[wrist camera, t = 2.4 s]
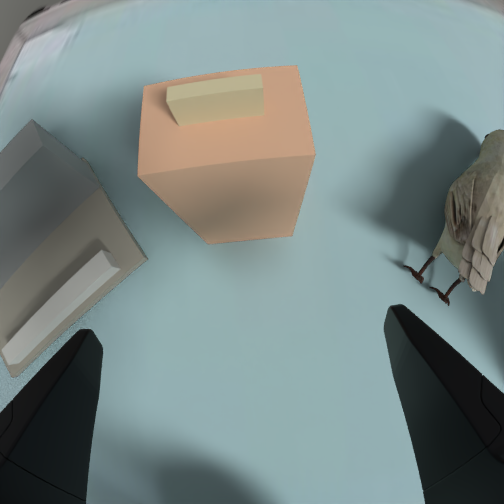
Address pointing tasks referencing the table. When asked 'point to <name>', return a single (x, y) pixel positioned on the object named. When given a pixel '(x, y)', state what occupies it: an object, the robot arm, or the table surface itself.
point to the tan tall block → (229, 151)
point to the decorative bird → (474, 219)
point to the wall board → (53, 244)
